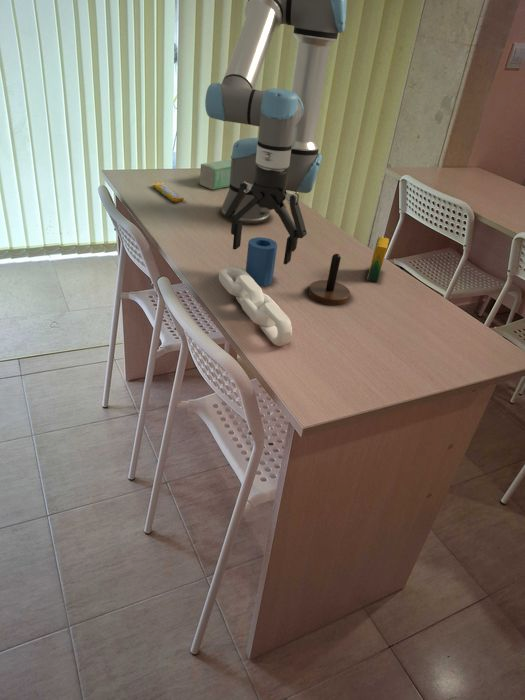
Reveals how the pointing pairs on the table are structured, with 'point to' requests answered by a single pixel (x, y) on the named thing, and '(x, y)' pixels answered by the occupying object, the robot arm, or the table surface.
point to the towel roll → (261, 260)
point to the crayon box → (378, 258)
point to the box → (215, 174)
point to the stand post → (333, 272)
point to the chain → (257, 305)
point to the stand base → (329, 293)
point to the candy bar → (167, 192)
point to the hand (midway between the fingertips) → (261, 255)
